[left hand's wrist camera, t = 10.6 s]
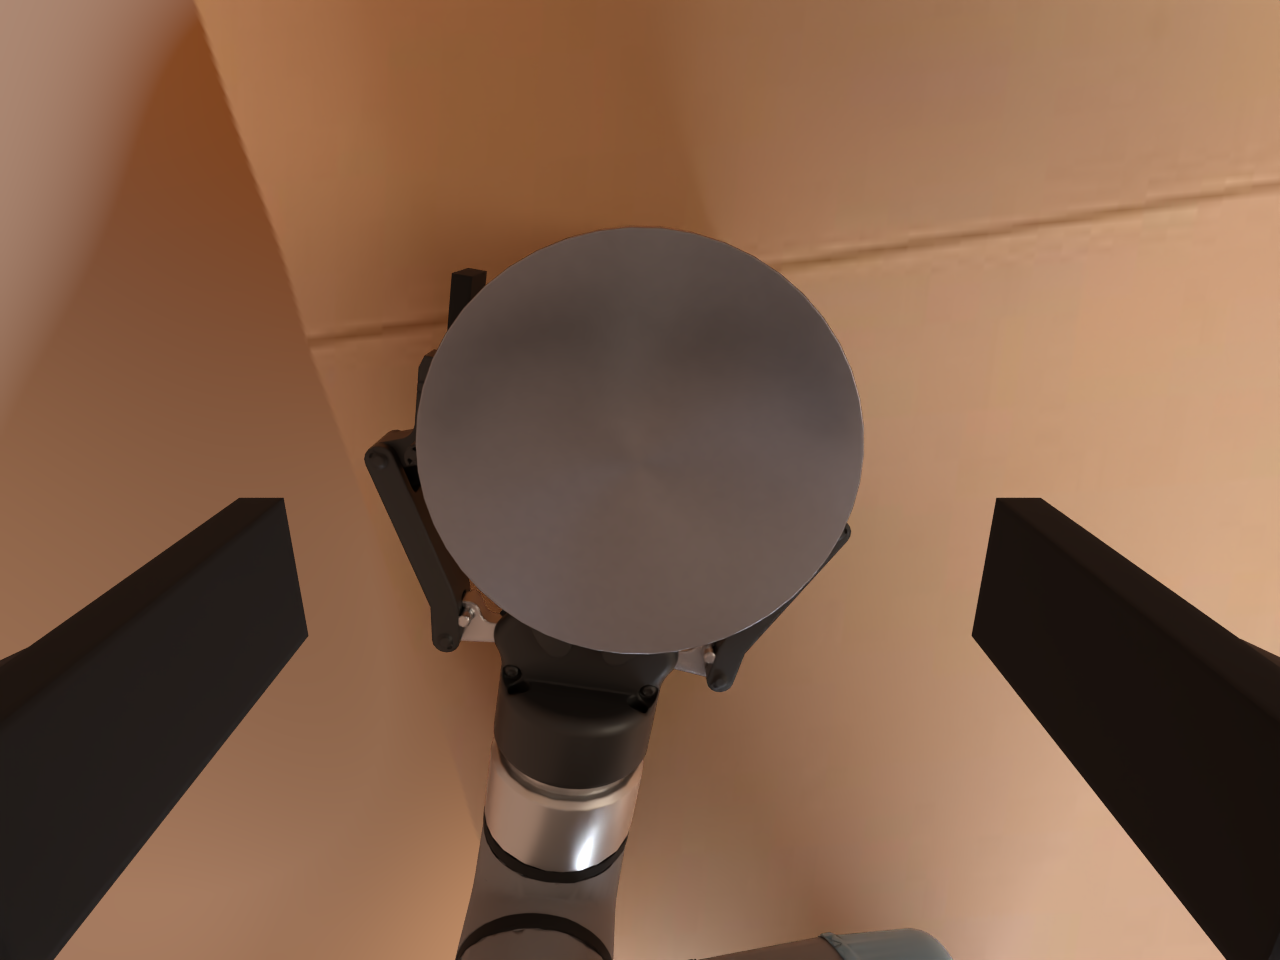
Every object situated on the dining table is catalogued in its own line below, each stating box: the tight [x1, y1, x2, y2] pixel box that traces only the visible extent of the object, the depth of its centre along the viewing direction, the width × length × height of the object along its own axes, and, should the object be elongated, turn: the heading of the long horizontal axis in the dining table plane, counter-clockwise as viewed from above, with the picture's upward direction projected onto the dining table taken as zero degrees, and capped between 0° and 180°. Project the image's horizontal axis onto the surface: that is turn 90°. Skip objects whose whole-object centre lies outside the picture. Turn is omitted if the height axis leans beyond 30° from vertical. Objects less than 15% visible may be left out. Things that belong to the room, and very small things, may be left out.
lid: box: [416, 226, 864, 654], centre depth 19 cm, size 11×11×2 cm
